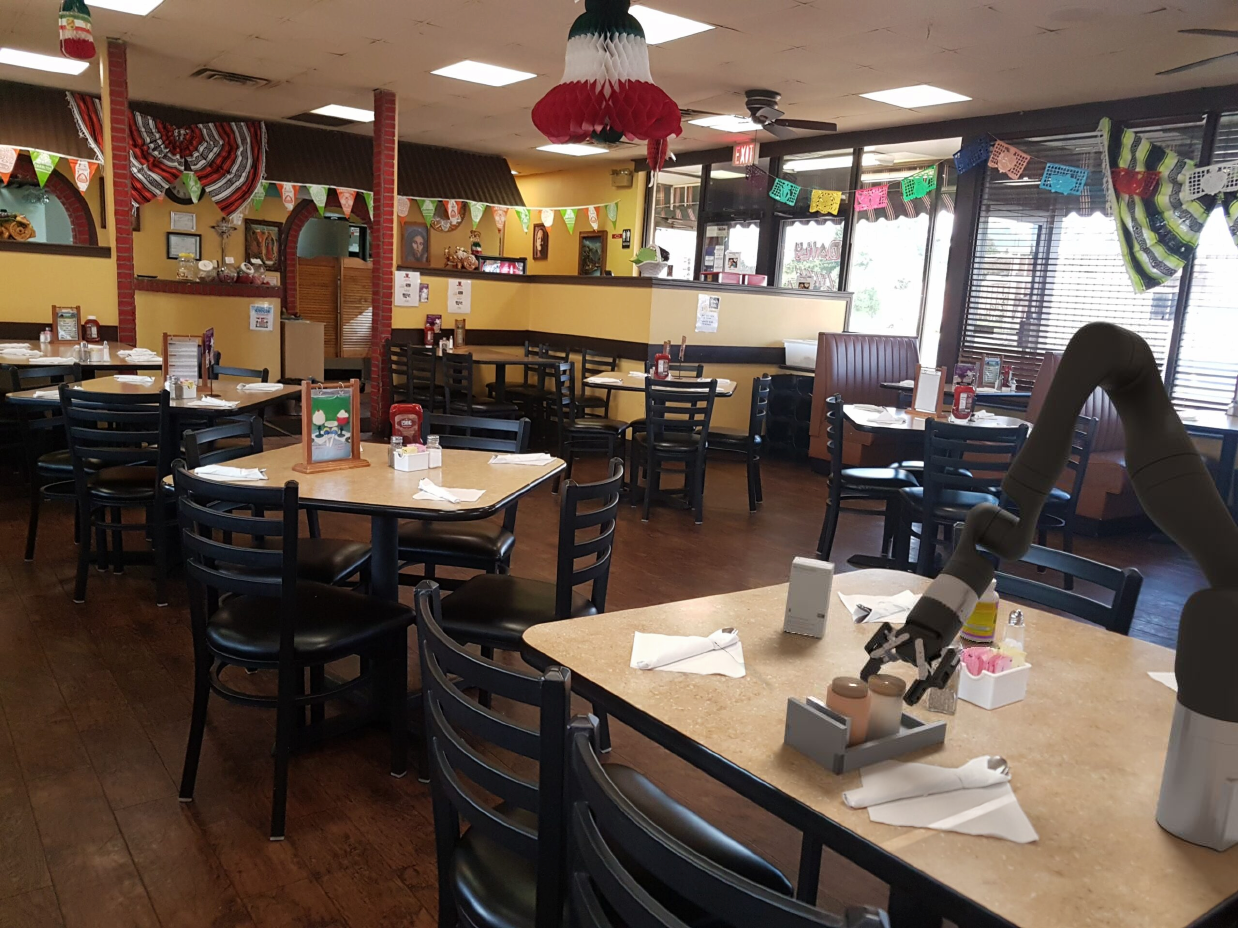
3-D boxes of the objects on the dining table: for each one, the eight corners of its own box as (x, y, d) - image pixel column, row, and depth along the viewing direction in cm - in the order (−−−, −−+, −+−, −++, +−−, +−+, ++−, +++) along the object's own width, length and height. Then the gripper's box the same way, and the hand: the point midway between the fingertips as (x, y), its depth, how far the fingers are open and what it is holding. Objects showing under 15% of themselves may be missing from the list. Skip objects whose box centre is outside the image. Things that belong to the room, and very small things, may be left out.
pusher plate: (846, 763, 132) (851, 717, 131) (836, 766, 131) (841, 720, 130) (807, 739, 139) (811, 695, 138) (797, 742, 138) (801, 698, 137)
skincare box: (782, 632, 188) (789, 562, 185) (787, 623, 194) (794, 554, 191) (824, 639, 185) (831, 568, 183) (828, 630, 191) (835, 560, 188)
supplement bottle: (996, 645, 187) (1004, 585, 185) (962, 641, 189) (970, 581, 186) (990, 634, 194) (998, 575, 191) (957, 630, 195) (964, 572, 193)
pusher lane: (943, 746, 142) (949, 698, 141) (836, 781, 130) (842, 728, 128) (888, 717, 151) (893, 671, 150) (783, 747, 139) (787, 697, 137)
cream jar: (908, 739, 141) (914, 684, 140) (882, 747, 138) (888, 691, 137) (880, 724, 146) (885, 671, 144) (854, 732, 143) (860, 677, 141)
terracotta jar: (874, 752, 137) (882, 687, 135) (844, 762, 133) (851, 695, 132) (842, 734, 142) (849, 671, 140) (812, 743, 139) (819, 679, 137)
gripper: (897, 583, 149) (839, 662, 144) (972, 609, 137) (912, 696, 133) (915, 610, 152) (859, 687, 148) (990, 638, 141) (932, 724, 136)
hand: (884, 692), depth 140 cm, fingers open, 8 cm apart
